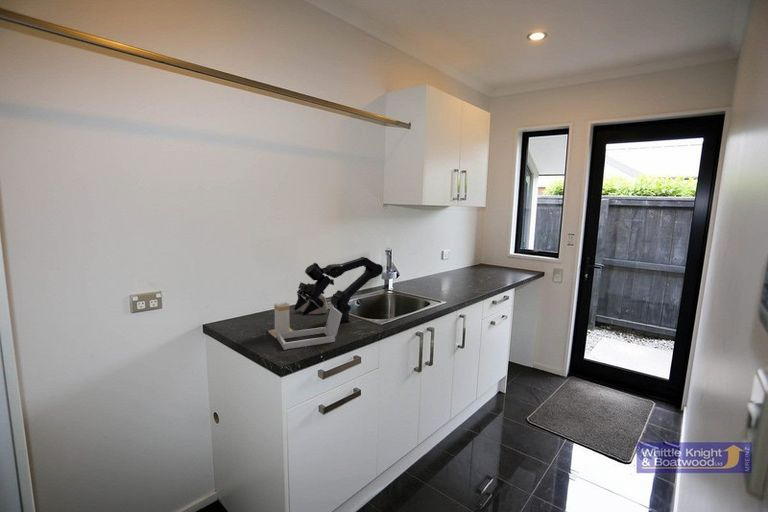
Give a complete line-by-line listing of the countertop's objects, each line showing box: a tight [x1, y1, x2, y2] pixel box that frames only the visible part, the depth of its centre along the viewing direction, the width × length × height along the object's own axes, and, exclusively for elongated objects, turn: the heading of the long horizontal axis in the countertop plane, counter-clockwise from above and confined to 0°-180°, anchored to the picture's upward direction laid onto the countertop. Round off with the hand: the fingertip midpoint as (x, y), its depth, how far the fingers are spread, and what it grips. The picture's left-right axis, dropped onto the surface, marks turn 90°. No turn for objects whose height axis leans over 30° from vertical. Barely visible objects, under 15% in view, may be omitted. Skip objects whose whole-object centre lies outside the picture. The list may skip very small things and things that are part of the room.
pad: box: [267, 327, 295, 339], centre depth 169 cm, size 10×10×1 cm
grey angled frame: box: [276, 305, 342, 350], centre depth 161 cm, size 25×13×12 cm, turn 117°
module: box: [273, 301, 291, 333], centre depth 168 cm, size 5×5×13 cm
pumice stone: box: [300, 294, 329, 315], centre depth 200 cm, size 15×8×10 cm, turn 75°
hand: (298, 312), depth 172 cm, fingers open, 9 cm apart
